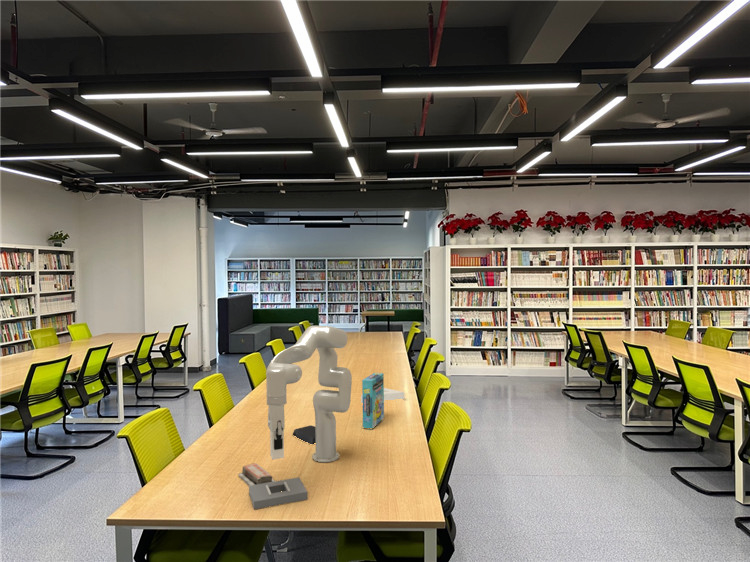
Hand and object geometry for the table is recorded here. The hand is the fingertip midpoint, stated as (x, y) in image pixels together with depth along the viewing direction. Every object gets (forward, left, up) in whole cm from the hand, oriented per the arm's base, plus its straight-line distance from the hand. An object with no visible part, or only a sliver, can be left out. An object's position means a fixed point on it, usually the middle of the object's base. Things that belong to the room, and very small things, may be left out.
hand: (277, 446), depth 184 cm
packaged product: (-18, -5, -20) cm, 28 cm away
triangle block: (-112, +86, -20) cm, 143 cm away
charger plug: (0, 0, -4) cm, 4 cm away
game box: (-67, +67, -20) cm, 97 cm away
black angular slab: (-59, +29, -20) cm, 69 cm away
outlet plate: (0, 0, -20) cm, 20 cm away
